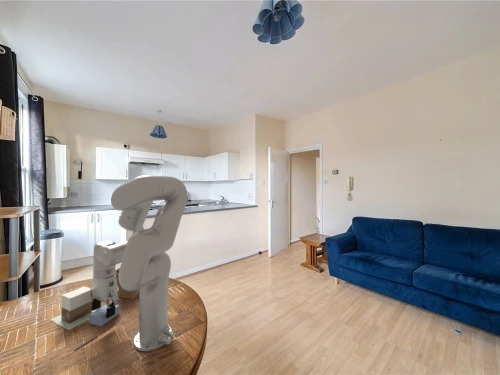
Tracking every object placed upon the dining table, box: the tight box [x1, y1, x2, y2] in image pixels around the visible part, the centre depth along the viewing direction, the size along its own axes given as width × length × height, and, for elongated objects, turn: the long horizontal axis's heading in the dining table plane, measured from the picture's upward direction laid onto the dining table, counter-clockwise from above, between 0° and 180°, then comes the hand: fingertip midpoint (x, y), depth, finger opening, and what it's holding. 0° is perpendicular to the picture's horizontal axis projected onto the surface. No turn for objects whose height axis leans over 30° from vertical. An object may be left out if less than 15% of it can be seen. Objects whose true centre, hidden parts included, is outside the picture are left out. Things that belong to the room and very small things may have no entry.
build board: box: [50, 309, 97, 331], centre depth 86 cm, size 14×12×1 cm
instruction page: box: [73, 336, 99, 352], centre depth 74 cm, size 9×7×1 cm
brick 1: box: [61, 286, 92, 311], centre depth 86 cm, size 6×8×5 cm
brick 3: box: [88, 304, 120, 327], centre depth 84 cm, size 6×8×5 cm
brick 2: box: [60, 301, 92, 324], centre depth 86 cm, size 6×8×5 cm
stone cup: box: [115, 267, 140, 300], centre depth 103 cm, size 15×12×15 cm
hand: (103, 312), depth 85 cm, fingers open, 9 cm apart
